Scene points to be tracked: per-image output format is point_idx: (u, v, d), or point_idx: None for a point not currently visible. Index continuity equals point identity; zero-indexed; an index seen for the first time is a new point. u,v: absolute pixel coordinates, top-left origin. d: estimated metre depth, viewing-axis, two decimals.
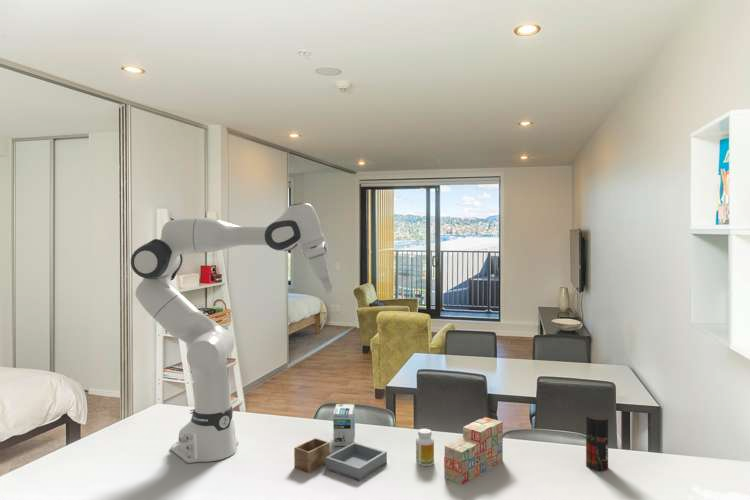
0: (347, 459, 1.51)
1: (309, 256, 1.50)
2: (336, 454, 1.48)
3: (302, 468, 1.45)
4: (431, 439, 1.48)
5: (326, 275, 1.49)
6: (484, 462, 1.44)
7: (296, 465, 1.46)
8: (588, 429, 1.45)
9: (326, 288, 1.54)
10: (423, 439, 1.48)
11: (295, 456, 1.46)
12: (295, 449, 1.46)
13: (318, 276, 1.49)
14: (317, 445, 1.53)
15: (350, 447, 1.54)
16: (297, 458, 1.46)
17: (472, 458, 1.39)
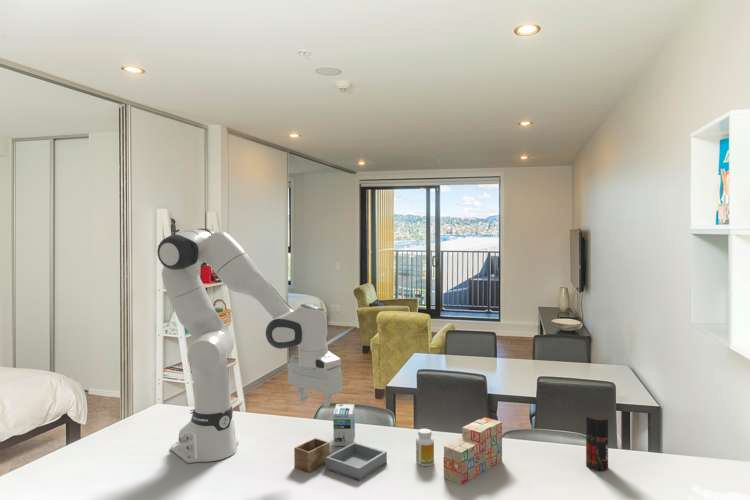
0: (347, 459, 1.51)
1: (329, 366, 1.41)
2: (336, 454, 1.48)
3: (302, 468, 1.45)
4: (431, 439, 1.48)
5: (341, 389, 1.43)
6: (483, 462, 1.43)
7: (296, 465, 1.46)
8: (588, 429, 1.45)
9: (326, 402, 1.45)
10: (423, 439, 1.48)
11: (295, 456, 1.46)
12: (295, 449, 1.46)
13: (335, 390, 1.41)
14: (317, 445, 1.53)
15: (350, 447, 1.54)
16: (297, 458, 1.46)
17: (471, 458, 1.39)
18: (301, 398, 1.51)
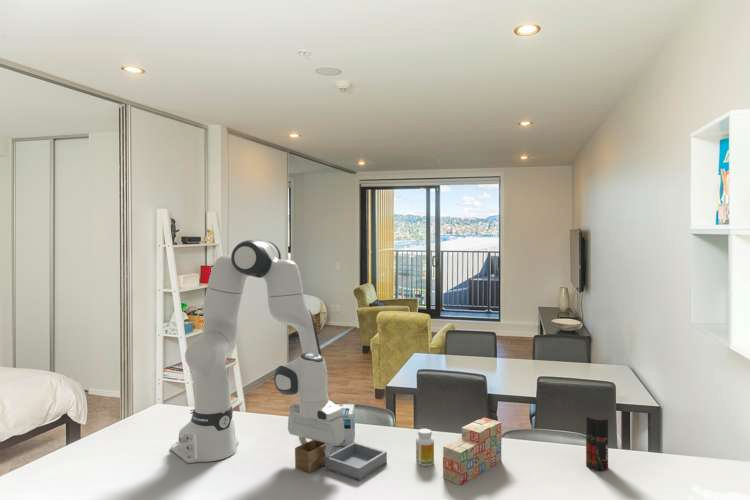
0: (347, 459, 1.51)
1: (332, 418, 1.42)
2: (336, 454, 1.48)
3: (303, 468, 1.44)
4: (431, 439, 1.48)
5: (343, 440, 1.44)
6: (483, 463, 1.43)
7: (297, 466, 1.46)
8: (588, 429, 1.45)
9: (327, 452, 1.46)
10: (423, 439, 1.48)
11: (296, 456, 1.46)
12: (296, 449, 1.46)
13: (338, 441, 1.42)
14: (318, 445, 1.52)
15: (350, 447, 1.54)
16: (298, 458, 1.46)
17: (471, 459, 1.39)
18: None
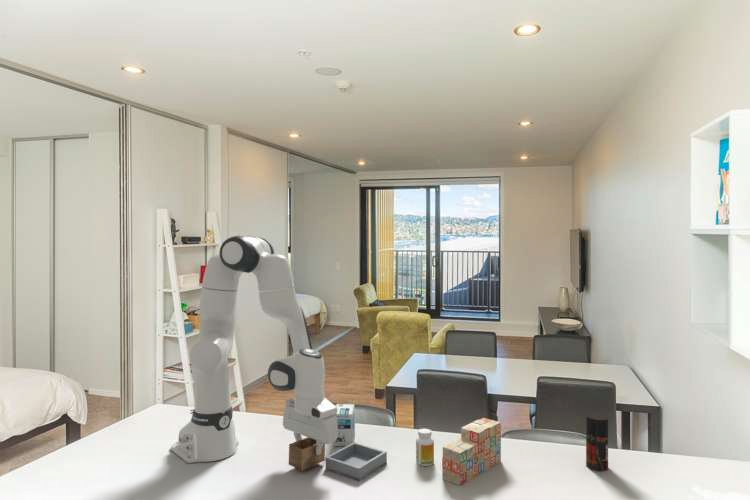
0: (347, 459, 1.51)
1: (325, 416, 1.41)
2: (336, 454, 1.48)
3: (296, 465, 1.43)
4: (431, 439, 1.48)
5: (335, 439, 1.42)
6: (482, 463, 1.43)
7: (290, 462, 1.45)
8: (588, 429, 1.45)
9: (318, 449, 1.45)
10: (423, 439, 1.48)
11: (290, 453, 1.45)
12: (290, 446, 1.45)
13: (330, 440, 1.40)
14: (313, 443, 1.51)
15: (350, 447, 1.54)
16: (291, 455, 1.45)
17: (470, 459, 1.38)
18: None
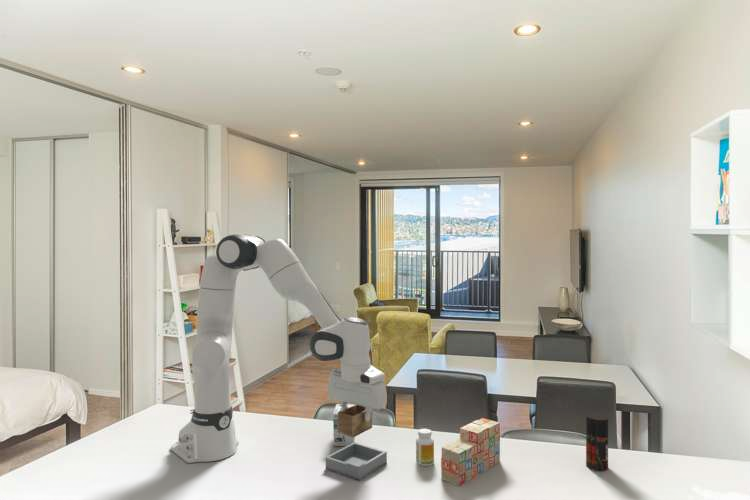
0: (347, 459, 1.51)
1: (375, 382, 1.40)
2: (336, 454, 1.48)
3: (346, 433, 1.43)
4: (431, 439, 1.48)
5: (385, 404, 1.42)
6: (481, 463, 1.43)
7: (339, 430, 1.44)
8: (588, 429, 1.45)
9: (367, 416, 1.44)
10: (423, 439, 1.48)
11: (338, 421, 1.45)
12: (338, 414, 1.45)
13: (380, 405, 1.40)
14: (359, 411, 1.51)
15: (350, 447, 1.54)
16: (340, 423, 1.44)
17: (469, 459, 1.38)
18: None
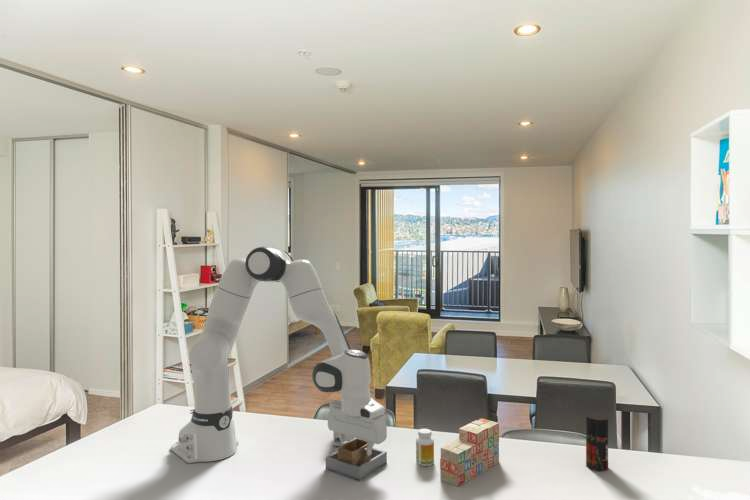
0: None
1: (375, 416, 1.40)
2: (336, 454, 1.48)
3: None
4: (431, 439, 1.48)
5: (385, 439, 1.42)
6: (480, 464, 1.42)
7: None
8: (588, 429, 1.45)
9: (369, 450, 1.44)
10: (423, 439, 1.48)
11: (338, 456, 1.45)
12: (338, 449, 1.45)
13: (380, 440, 1.40)
14: (359, 445, 1.51)
15: None
16: (340, 458, 1.44)
17: (468, 460, 1.38)
18: None
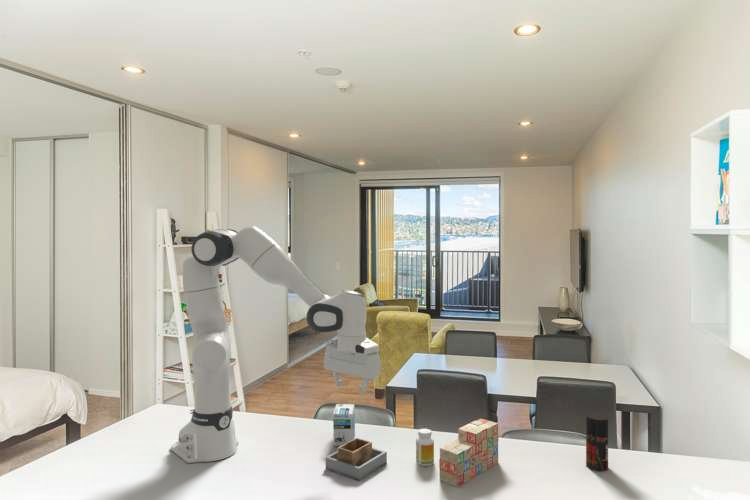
0: None
1: (369, 352, 1.44)
2: (336, 454, 1.48)
3: None
4: (431, 439, 1.48)
5: (379, 375, 1.46)
6: (480, 464, 1.42)
7: None
8: (588, 429, 1.45)
9: (363, 387, 1.47)
10: (423, 439, 1.48)
11: (338, 456, 1.45)
12: (338, 449, 1.45)
13: (374, 375, 1.44)
14: (359, 445, 1.51)
15: None
16: (340, 458, 1.44)
17: (467, 460, 1.38)
18: (337, 383, 1.53)
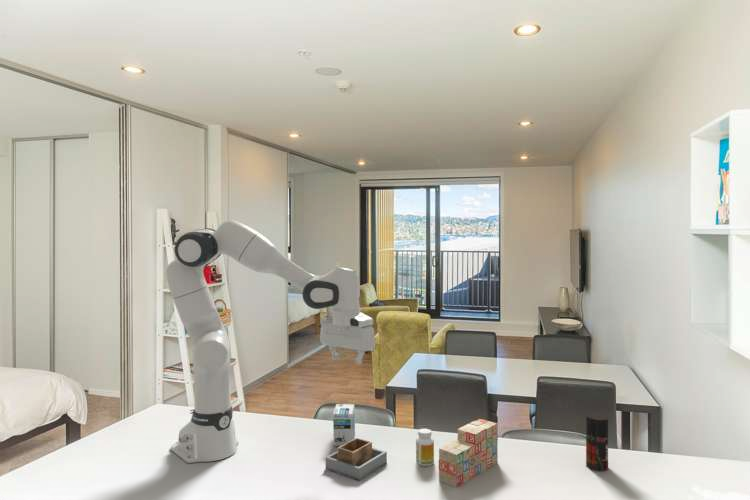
0: None
1: (364, 325, 1.50)
2: (336, 454, 1.48)
3: None
4: (431, 439, 1.48)
5: (373, 347, 1.52)
6: (479, 464, 1.42)
7: None
8: (588, 429, 1.45)
9: (359, 359, 1.53)
10: (423, 439, 1.48)
11: (338, 456, 1.45)
12: (338, 449, 1.45)
13: (369, 347, 1.50)
14: (359, 445, 1.51)
15: None
16: (340, 458, 1.44)
17: (467, 460, 1.37)
18: (333, 357, 1.59)
